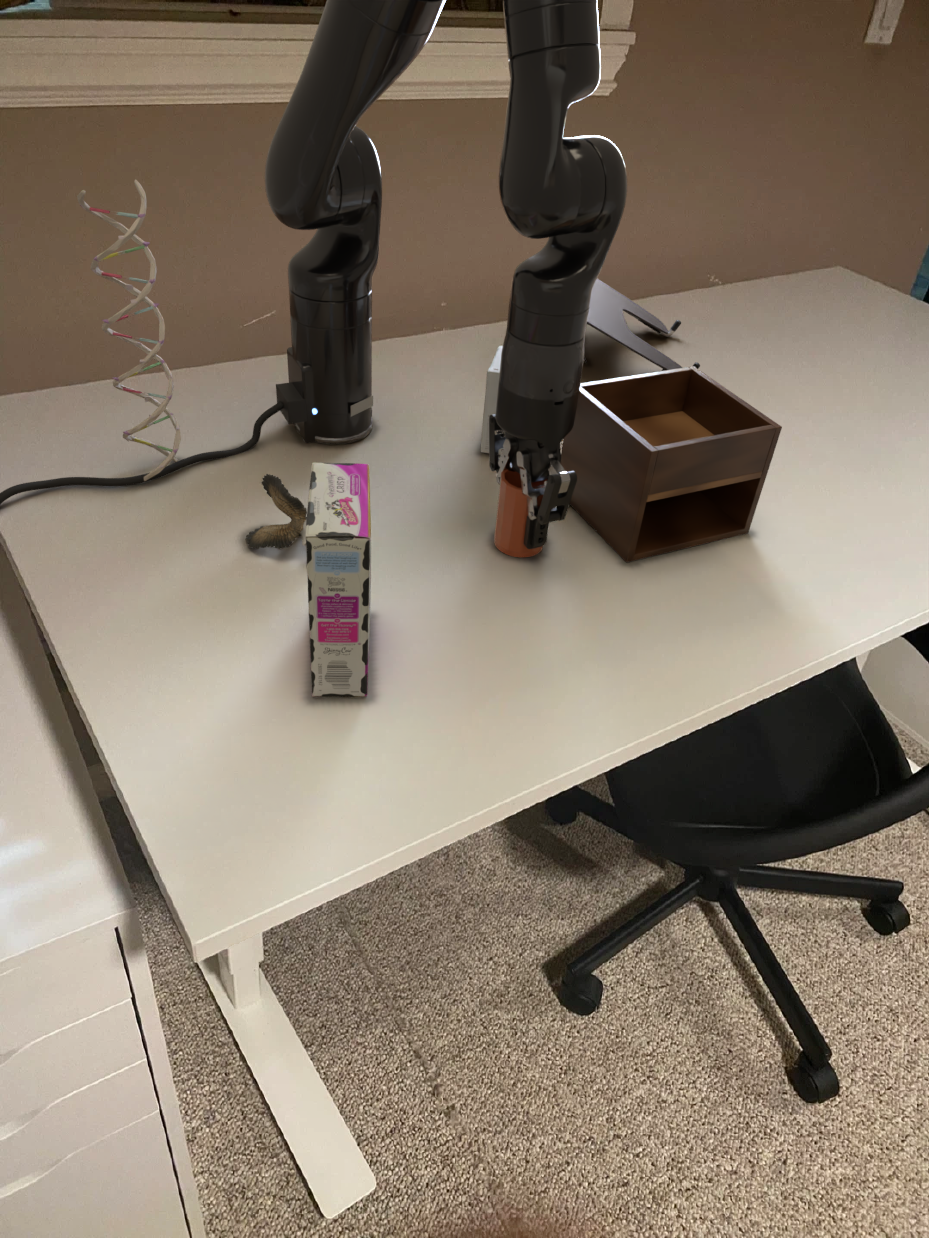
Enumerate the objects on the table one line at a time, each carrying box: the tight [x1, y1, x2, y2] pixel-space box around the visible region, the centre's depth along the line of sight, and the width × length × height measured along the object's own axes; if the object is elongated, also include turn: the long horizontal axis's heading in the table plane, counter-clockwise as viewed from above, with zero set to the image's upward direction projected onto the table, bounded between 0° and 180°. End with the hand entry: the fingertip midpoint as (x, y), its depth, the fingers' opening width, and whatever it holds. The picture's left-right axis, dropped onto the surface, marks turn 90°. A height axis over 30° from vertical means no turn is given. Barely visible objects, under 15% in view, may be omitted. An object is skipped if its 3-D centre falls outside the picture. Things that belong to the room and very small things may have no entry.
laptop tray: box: [584, 278, 701, 371], centre depth 134 cm, size 23×23×9 cm
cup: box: [493, 470, 547, 558], centre depth 93 cm, size 5×5×8 cm
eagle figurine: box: [245, 473, 307, 550], centre depth 91 cm, size 8×7×9 cm
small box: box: [480, 345, 504, 456], centre depth 109 cm, size 8×6×10 cm
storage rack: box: [560, 365, 783, 563], centre depth 98 cm, size 16×15×13 cm
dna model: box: [76, 179, 182, 481], centre depth 92 cm, size 7×6×30 cm
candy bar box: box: [305, 462, 372, 699], centre depth 75 cm, size 11×5×16 cm, turn 5°
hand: (520, 530), depth 95 cm, fingers closed on cup, 5 cm apart
